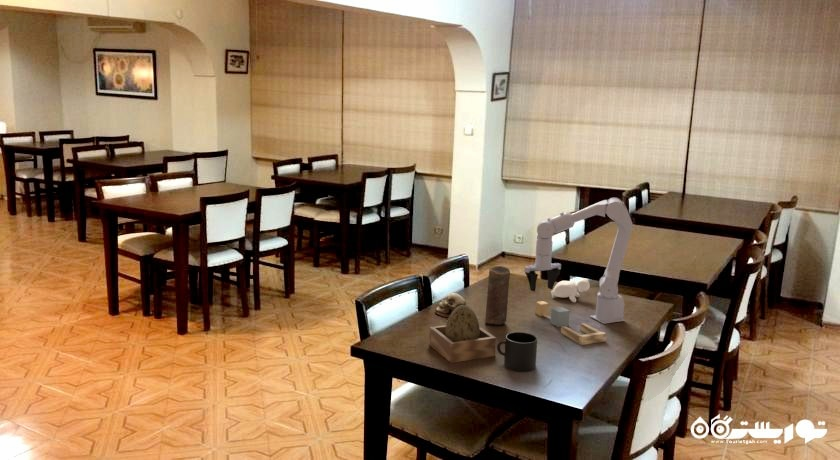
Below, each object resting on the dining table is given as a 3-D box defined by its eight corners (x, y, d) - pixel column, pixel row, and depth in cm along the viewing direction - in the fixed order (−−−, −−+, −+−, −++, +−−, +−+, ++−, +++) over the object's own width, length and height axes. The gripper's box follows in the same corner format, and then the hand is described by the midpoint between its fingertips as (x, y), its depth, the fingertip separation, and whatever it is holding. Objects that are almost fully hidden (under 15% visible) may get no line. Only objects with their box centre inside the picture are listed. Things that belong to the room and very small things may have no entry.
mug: (500, 356, 218) (502, 328, 216) (538, 362, 214) (540, 334, 212) (491, 367, 210) (493, 338, 208) (531, 374, 205) (533, 345, 203)
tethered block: (544, 312, 261) (545, 298, 259) (568, 325, 247) (569, 310, 246) (533, 313, 259) (534, 299, 258) (557, 327, 245) (558, 312, 244)
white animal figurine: (554, 307, 277) (591, 298, 271) (547, 286, 277) (584, 277, 270) (558, 301, 285) (594, 292, 278) (552, 281, 284) (588, 272, 278)
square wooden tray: (471, 338, 232) (472, 321, 231) (495, 355, 218) (496, 337, 217) (429, 344, 226) (429, 327, 224) (450, 362, 212) (451, 344, 211)
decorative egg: (468, 359, 215) (470, 313, 212) (438, 351, 220) (439, 306, 217) (484, 349, 224) (486, 304, 220) (455, 341, 229) (456, 297, 226)
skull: (430, 314, 252) (435, 288, 257) (436, 326, 260) (440, 301, 265) (463, 317, 248) (467, 291, 253) (467, 328, 257) (471, 303, 262)
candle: (508, 321, 249) (511, 267, 245) (504, 328, 243) (507, 272, 238) (487, 318, 252) (490, 264, 248) (482, 325, 245) (485, 270, 241)
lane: (583, 329, 244) (584, 322, 243) (605, 341, 233) (606, 333, 233) (560, 333, 240) (561, 325, 239) (581, 345, 229) (582, 336, 229)
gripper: (554, 249, 261) (551, 284, 264) (520, 252, 255) (518, 288, 258) (565, 254, 255) (562, 289, 258) (531, 257, 249) (529, 293, 252)
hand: (541, 289), depth 257 cm, fingers open, 7 cm apart
